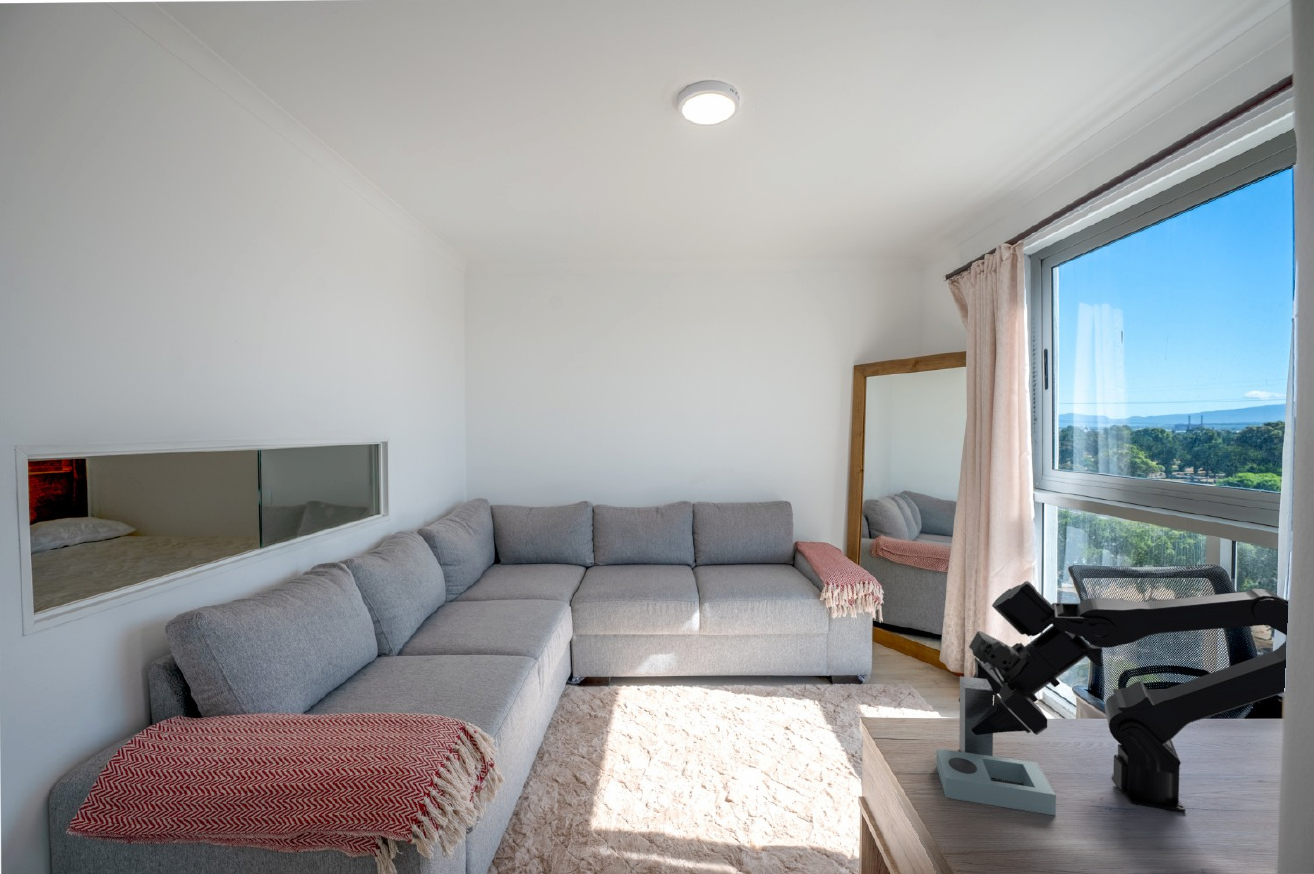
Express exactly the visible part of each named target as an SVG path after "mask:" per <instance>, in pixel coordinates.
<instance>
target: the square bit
mask: <svg viewBox="0 0 1314 874" xmlns="http://www.w3.org/2000/svg"><path fill="white" fill-rule="evenodd" d="M959 698H960V702H959V746H958V747H959V748H958V749H959V752H966V753H973V754H980V755H987V756H994V755H993V753H994V749H993V748H994V743H993V742H994V733H991V734H982V735H975V734H974V733H973V732H972V731H971V728H972V726H973V725H974V724H975V723H976V722H977V721H978V720H979V719H980V718H981V717H982V716H983V715H984V714H985V713H986V712H987V711H988V710H989V709H991V708H992V707H993V705H994V695H993V689H992V688H991V686H990V684H989V682H988V681H987V679H980V678H973V677H969V676H959Z"/></svg>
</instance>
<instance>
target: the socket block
mask: <svg viewBox="0 0 1314 874" xmlns="http://www.w3.org/2000/svg"><path fill="white" fill-rule="evenodd" d="M936 769H937V772H938V773H937V774H938V776H939V780H940V783H941V786H942V790H943V793H944V797H945V798H947V799H953V800H958V801H965V802H970V803H971V802H972V803H976V804H982V805H990V806H995V807H1001V808H1002V807H1003V808H1008V809H1014V810H1018V811H1026V812H1031V813H1039V814H1045V815H1050V816H1054V817H1055V816H1056V810H1057V809H1056V808H1057V805H1056V803H1057V794H1056V793H1055V791H1054V789H1053V788H1052V786H1051V784H1050V782H1049V780H1048V779H1047V777H1046V776H1045V774H1044V771H1043V770H1042V768H1041V767H1040V765H1039V763H1038V762H1037V761H1029V760H1028V761H1027V760H1021V759H1015V758H1007V757H999V756H994V755H993V756H987V755H980V754H973V753H966V752H960V750H959V751H958V750H957V751H956V750H952V749H951V750H950V749H943V748H936ZM991 778H996V779H995V780H998V779H1002V780H1001V782H1000V781H993V780H992V779H991ZM1005 780H1006V782H1002V781H1005ZM1007 780H1008V781H1007ZM1008 782H1012V783H1008ZM1014 783H1018V784H1014ZM1020 784H1023V785H1020Z"/></svg>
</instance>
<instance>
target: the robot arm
mask: <svg viewBox="0 0 1314 874" xmlns="http://www.w3.org/2000/svg"><path fill="white" fill-rule="evenodd" d="M1288 601H1289V600H1287V599H1285V598H1283V597H1280V596H1279V595H1277V593H1274V592H1272V591H1271V590H1268V589H1264V588H1252V589H1250V590H1246V591H1242V592H1241V591H1240V592H1231V593H1221V594H1220V593H1219V594H1211V595H1203V596H1202V595H1200V596H1193V597H1182V598H1174V599H1171V598H1170V599H1164V600H1163V599H1161V600H1153V601H1135V600H1127V599H1121V598H1107V597H1106V598H1104V597H1103V598H1102V597H1101V598H1100V597H1091V598H1086V599H1083V600H1081V601H1080V602H1078V603H1077V602H1076V603H1075V602H1053V603H1050V602H1049V601H1048V600H1047V599H1046V598H1045V597H1044V596H1043V595H1042V594H1041V593H1040V592H1038V590H1037V589H1036V587H1035V586H1034V585H1033V584H1032V583H1031V582H1029V581H1028V580H1027V581H1026V580H1025V581H1024V582H1023V583H1022V584H1018V585H1016V586H1014V587H1012V588H1008V589H1007V590H1006V591H1004V592H1003V593H1002V594H1001V595H999V597H998V598H996V599H995V600H994V602H993V603H992V605H991V607H992V608H993V609H994V610H995V611H996V612H997V613H998V614H999V615H1000V616H1001V617H1002V618H1004V620H1005V621H1006V622H1007V623H1009V624H1010V626H1012V628H1013V629H1015V630H1016V632H1017V633H1018V634H1020V635H1022V636H1023V635H1026V636H1027V637H1035V636H1037V635H1038V636H1037V637H1036V638H1034V639H1033V640H1032V641H1030V642H1029V643H1028V644H1026V645H1024V644H1023V643H1022V642H1020V643H1019V642H1016V643H1015V644H1013V645H1012V646H1010V645H1008V644H1006V643H1004V642H1003V641H1001V640H999V639H997V638H995V637H994V636H991V635H990V634H987V633H986V632H983V631H981V630H977V632H976V633H975V635H974V637H973V638H972V640H971V643H970V644H969V646H968V647H969V649H970V650H971V651H972V654H973V656H974V658H973V659H974V660H973V661H974V666H975V667H974V668H975V669H974V670H975V672H974V675H973V676H972V678H980V679H987V681H988V682H989V684H990V686H991V688H992V689H993V707H992V708H991V709H989V710H988V711H987V712H986V713H985V714H984V715H983V716H982V717H981V718H980V719H979V720H978V721H977V722H976V723H975V724H974V725H973V726H972V728H971V731H972V732H973V733H974V734H975V735H982V734H991V733H993V734H998V733H999V734H1000V733H1009V732H1011V733H1012V732H1026V734H1029V733H1031V732H1032V733H1033V734H1034V735H1035V736H1038V735H1039V734H1040V733H1042V732H1043V731H1045V730H1046V729H1048V718H1047V716H1046V715H1045V714H1044V712H1043V711H1042V709H1041V708H1040V707H1039V705H1037V704H1036V702H1037V701H1038V700H1039V698H1038V697H1037V696H1036V694H1037V693H1039V692H1040V691H1042V689H1044V688H1045V687H1047V686H1048V685H1049V684H1050V685H1052V686H1053V687H1054V688H1056V687H1057V686H1059V685H1060V684H1061V683H1060V681H1059V680H1058V678H1059V677H1060V676H1062V675H1063V674H1064V673H1066V672H1067V671H1068V670H1070V669H1072V667H1074V666H1076V665H1077V664H1078V663H1080V662H1081V661H1082V660H1083V659H1085V658H1087V659H1089V660H1090V662H1091V663H1092V664H1094V665H1095V667H1096V668H1102V666H1103V662H1102V653H1103V648H1106V649H1107V648H1114V647H1115V648H1116V647H1119V646H1124V645H1127V644H1131V643H1136V642H1138V641H1140V640H1143V639H1144V638H1147V637H1149V636H1153V635H1158V634H1159V635H1160V634H1168V633H1182V632H1191V631H1192V632H1193V631H1204V630H1205V631H1207V630H1217V629H1218V630H1219V629H1220V630H1221V629H1231V628H1245V627H1255V626H1256V627H1257V626H1267V627H1270V628H1272V629H1274V630H1276V631H1278V632H1279V633H1282V634H1283V635H1285V636H1287V623H1288ZM1049 626H1050V627H1049ZM1285 668H1286V640H1285V641H1284V642H1283V643H1282V644H1281V645H1280V646H1279V647H1277V649H1275V650H1273V651H1271V652H1267V653H1264V654H1262V655H1259V656H1255V657H1253V658H1251V659H1247V660H1244V661H1242V662H1239V663H1236V664H1233V665H1230V666H1228V667H1227V666H1226V667H1225V668H1223V669H1219V670H1216V671H1212V672H1211V673H1207V674H1205V675H1201V676H1198V677H1196V678H1194V679H1191V680H1187V681H1185V682H1182V683H1179V684H1176V685H1173V686H1170V687H1168V688H1164V689H1147V688H1146V686H1145V685H1144V683H1143V681H1142V680H1139V681H1138V680H1137V681H1136V682H1133V683H1132V684H1130V685H1129V686H1127V687H1123V688H1113V690H1112V691H1113V692H1112V693H1113V694H1112V695H1110V696H1109V697H1108V698H1106V701H1105V705H1104V711H1105V716H1106V720H1107V724H1108V729H1109V732H1110V734H1111V736H1112V737H1113V739H1115V741H1116V742H1118V743H1119V744H1117V754H1114V755H1113V773H1112V774H1111V779H1112V780H1113V782H1114V783H1115V785H1116V786H1117V787H1118V788H1119V790H1120V791H1121V792H1122V793H1123V794H1124V796H1125V797H1126V798H1127V800H1128V801H1129V802H1130V803H1131V804H1132V805H1137V806H1142V807H1148V808H1149V807H1150V808H1156V809H1161V810H1162V809H1163V810H1168V811H1174V812H1183V813H1185V812H1186V806H1185V805H1184V804H1183V803H1182V802H1181V801H1180V800H1179V799H1180V795H1179V794H1180V765H1181V760H1180V758H1179V756H1178V753H1177V751H1176V748H1175V745H1174V743H1173V741H1172V739H1174V738H1175V737H1176V736H1177V735H1178V734H1179V733H1180V732H1181V731H1182V730H1183V729H1184V728H1185V727H1186V726H1187V725H1189V724H1191V723H1194V722H1197V721H1200V720H1203V719H1206V718H1209V717H1212V716H1215V715H1219V714H1223V713H1226V712H1228V711H1231V710H1234V709H1238V708H1240V707H1245V706H1247V705H1250V704H1253V703H1256V702H1260V701H1263V700H1265V699H1268V698H1272V697H1275V696H1278V695H1281V694H1284V688H1285ZM958 702H959V703H960V697H958Z"/></svg>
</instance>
